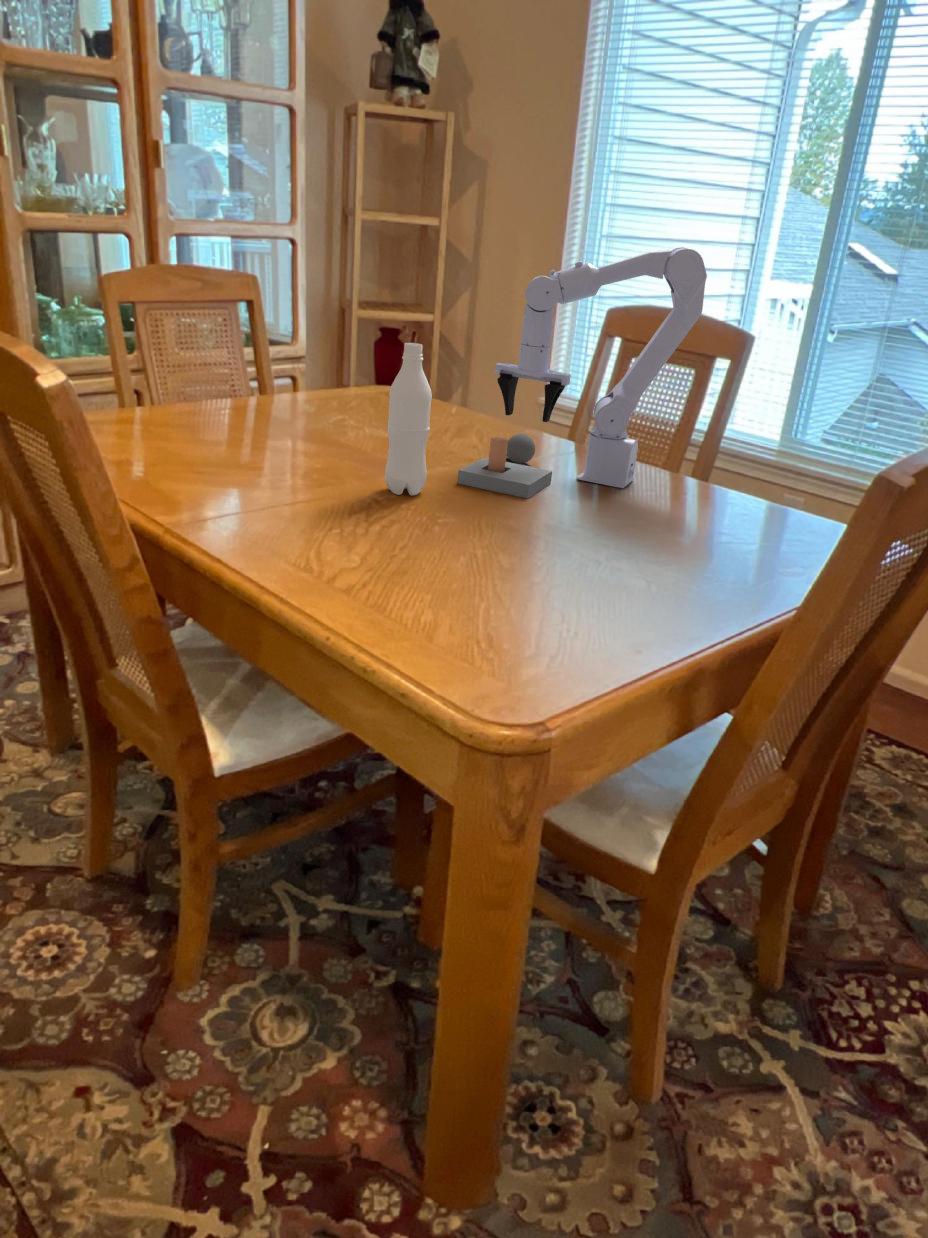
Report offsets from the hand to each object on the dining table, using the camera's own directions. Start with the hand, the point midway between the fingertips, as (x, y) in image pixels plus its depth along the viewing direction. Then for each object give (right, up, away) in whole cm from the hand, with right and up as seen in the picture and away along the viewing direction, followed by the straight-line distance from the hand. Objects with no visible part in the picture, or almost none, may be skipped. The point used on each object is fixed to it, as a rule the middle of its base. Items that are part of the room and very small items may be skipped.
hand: (527, 417), depth 171 cm
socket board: (-5, -13, -5) cm, 15 cm away
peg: (-6, -13, -4) cm, 15 cm away
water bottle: (-23, -17, -15) cm, 32 cm away
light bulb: (-5, -3, +14) cm, 15 cm away
